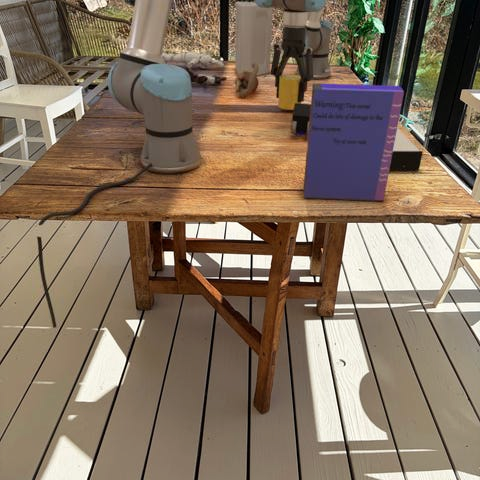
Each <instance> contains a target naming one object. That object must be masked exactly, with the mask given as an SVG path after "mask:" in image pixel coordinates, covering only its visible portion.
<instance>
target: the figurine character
mask: <svg viewBox="0 0 480 480" xmlns="http://www.w3.org/2000/svg"><path fill="white" fill-rule="evenodd" d="M310 109H311V103H301V104H300V103H295V105H294V110H292V117H291V124H290V133H291V134H294V139H296V140H297V139H298V136H303V137H304V138H303V139H304V140H306V139H307V140H308V131H309V120H310Z"/></svg>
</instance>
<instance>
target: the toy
mask: <svg viewBox="0 0 480 480" xmlns="http://www.w3.org/2000/svg"><path fill="white" fill-rule="evenodd" d="M162 58H163V59H164V61H165V63H166V64H168V63H177V64H178V63H179V64H180V63H183V64H185V65H186V66H187V68H190V69H192V68H193V67H196V66H198V65H199V68H201V69H203V70H205V69H207V67H209V66H212V65H213V64H214V65H218V66H219V67H220V68H223V67H225V64H224V63H223V62H222V61H221V60H219V59H213V57H212V56H211V55H209V54H206V52H202V53H197V52H194V51H189V52H181V53H176V54H174V53H171V52H170V53H167V52H163V51H162Z"/></svg>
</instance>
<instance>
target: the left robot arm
mask: <svg viewBox="0 0 480 480" xmlns="http://www.w3.org/2000/svg"><path fill="white" fill-rule="evenodd" d="M172 3H173V0H135V2H134V8H133V13H132V19H131V25H130V31H129V37H128V42H127V46H126V47H125V48H123V49H121V50H120V52H119V58H118V61H117V62H116V63H115V64H114V65H112V66H111V68H110V70H109V72H108V75H107V87H108V91H109V93H110V95H111V97H112V98H113V99H114V101H115V102H117V104H119V105H120V106H122V107H123V108H125V109H126V110H130V111H133V112H135V113H138V114H140V115H142V116H144V125H145V138H144V142H143V146H142V150H141V154H140V162H141V166H142V169H141V170H140V171H138V173H136V174H135V175H134V176H132V177H130V178H128V179H125V180H121V181H117V182H113V183H109V184H105V185H100V186H98V187H96V188H94V189H92V190H91V191H90V192H88V194H87V195H86V196H85V197H84V199H83V201H82V203H81V204H80V205H79V206H78V207H76V208H75V209H73V210H69V211H68V210H67V211H57V212H52V213H48V214H46V215H45V216H43V218H41V219H40V221H39V223H38V224H37V226H42V225H44V223H45V222H46V221H47V220H49V219H51V218H54V217H61V216H62V217H63V216H64V217H65V216H70V215H74V214H77V213H78V212H80V211H81V210H83V209H84V207H86V205H87V203H88V201H89V200H90V198H91V197H92V196H93V195H94V194H95V193H97V192H99V191H102V190H106V189H108V188H109V189H110V188H113V187H118V186H122V185H125V184H128V183H130V182H133V181H135V180H137V179H138V178H139V177H140V176H141V175H142V174H143V173H145V172H146V171H149V172H151V173H156V174H163V175H164V174H165V175H169V174H170V175H172V174H173V175H175V174H182V173H187V172H190V171H193V170H195V169H197V168H198V167H199V166H201V163H202V155H201V151H200V149H199V146H198V143H197V141H196V137H195V135H194V130H193V129H194V126H193V97H192V95H193V86H192V83H191V80H190V76H189V74H188V72H187V71H186V70H184V69H183V68H184V67H183V68H181V67H182V66H181V67H178V66H179V65H178V66H175V65H176V64H168V63H167V64H166V63H165V61H164V59H163V58H162V54H163V50H164V45H165V39H166V34H167V29H168V24H169V19H170V15H171V9H172ZM254 3H256V4H257V5H258V6H259V7H261V8H270V7H273V8H276V9H283V16H282V17H283V18H282V25H283V27H282V34H281V35H282V37H281V39H282V38H283V41H282V40H281V43H275V44H273V55H272V61H271V65H270V73H269V74H270V75H271V76H273V77H274V87H275V88H276V95H275V98H276V99H278V97H279V79H280V76H281V75H283V73H284V71H285V68H286V66H287V64H288V61H289V59H290V58H292V59H294V60H295V62H296V65H297V68H298V69H299V73H300V77H301V82H299V92H298V102H301V103H302V102H304V101H305V93H306V92H307V90H308V83H309V82H311V81H314V79H313V58H312V55H313V51H314V48H309V47H306V45H305V40H306V30H307V29H306V27H305V26H306V25H307V17H308V12H318V11H321V10H322V9H323V10H324V8H325V6H326V5H327V3H328V0H254ZM282 51H283V53H282ZM304 51H305V54H306V56H305V59H306V68H305V64H304V60H303V59H304V57H303V52H304ZM281 55H282V56H281ZM36 240H37V251H38V265H39V271H40V277H41V282H42V287H43V291H44V295H45V299H46V302H47V307H48V310H49V314H50V319H51V323H52V328H54V329H55V328H57V320H56V316H55V312H54V308H53V304H52V299H51V295H50V293H49V289H48V284H47V279H46V274H45V268H44V267H45V266H44V257H43V256H44V255H43V241H42V236H36Z"/></svg>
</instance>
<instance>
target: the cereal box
mask: <svg viewBox="0 0 480 480" xmlns="http://www.w3.org/2000/svg"><path fill="white" fill-rule="evenodd" d="M404 94H405V91H404V90H403V88H402V87H401V86H399V85H380V84H379V85H377V84H376V85H375V84H344V83H343V84H341V83H312V87H311V99H310V104H311V109H310V120H309V131H308V134H307V145H306V153H305V154H306V155H305V165H304V177H303V188H302V189H303V190H302V191H303V197H304V199H317V200H343V201H344V200H345V201H346V200H347V201H366V202H367V201H368V202H369V201H370V202H384V201H385V195H386V190H387V184H388V178H389V174H390V171H389V169H390V164H391V158H392V153H393V148H394V142H395V137H396V132H397V128H399V127H398V126H399V120H400V115H401V111H402V104H403V100H404V99H403V98H404Z"/></svg>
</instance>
